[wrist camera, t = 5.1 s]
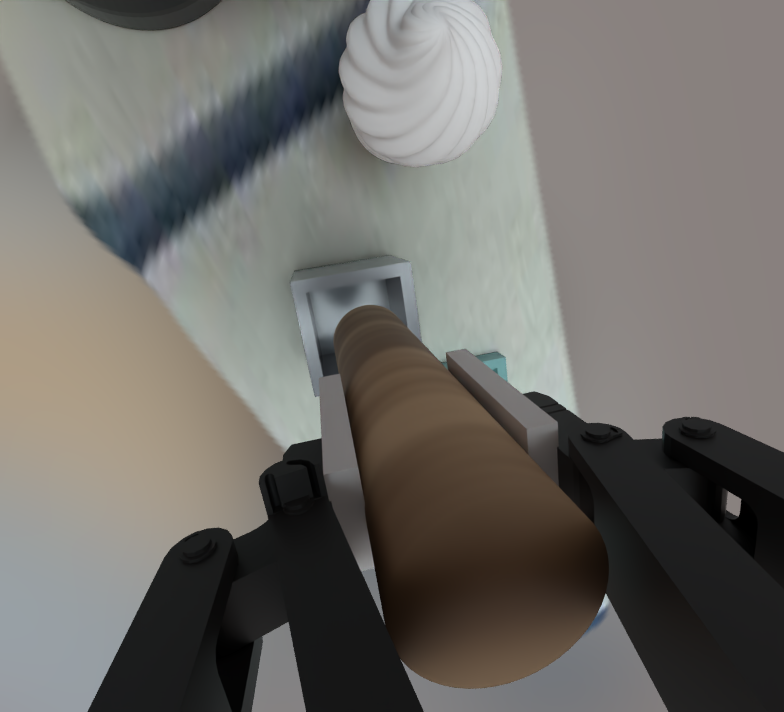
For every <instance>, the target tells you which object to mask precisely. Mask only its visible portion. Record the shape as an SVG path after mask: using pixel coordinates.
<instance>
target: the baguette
mask: <svg viewBox="0 0 784 712" xmlns="http://www.w3.org/2000/svg"><path fill="white" fill-rule="evenodd" d="M334 350H335V356H336V361H337V366H338V372H339V374H340V377H341V382H342V387H343V392H344V397H345V402H346V407H347V413H348V418H349V423H350V428H351V433H352V439H353V444H354V449H355V454H356V459H357V464H358V470H359V475H360V480H361V485H362V490H363V496H364V501H365V517H366V524H367V529H368V535H369V540H370V545H371V551H372V556H373V562H374V567H375V572H376V578H377V583H378V589H379V594H380V600H381V605H382V610H383V616H384V621H385V626H386V628H387V631H388V633H389V635H390V637H391V640H392V642H393V644H394V646H395V648H396V651H397V653H398V655H399V657H400V659H401V660H402V661H403V662H404V663H405V664H406V665H407V666H408V667H409V668H410V669H411V670H413V671H414V672H415V673H417V674H418V675H420V676H422V677H423V678H426V679H428V680H429V681H432V682H435V683H438V684H441V685H444V686H449V687H454V688H466V689H471V688H472V689H473V688H487V687H494V686H499V685H503V684H507V683H511V682H514V681H517V680H519V679H522V678H524V677H527V676H529V675H531V674H533V673H536V672H537V671H539V670H541V669H542V668H544V667H546V666H548V665H549V664H551V663H552V662H554V661H555V660H556V659H558V658H559V657H561V656H562V655H563V654H564V653H565V652H566V651H568V650H569V649H570V648H571V647H572V646H573V645H574V644H575V643H576V642H577V641H578V640H579V639H580V638H581V636H582V635H583V634H584V633H585V631H586V630H587V629H588V628H589V626H590V625H591V623H592V621H593V620H594V618H595V617H596V615H597V613H598V611H599V609H600V607H601V605H602V602H603V599H604V596H605V593H606V589H607V584H608V578H609V560H608V554H607V550H606V545H605V543H604V541H603V538H602V536H601V534H600V532H599V531H598V529H597V528H596V526H595V525H594V524H593V522H592V521H591V520H590V519H589V518H588V517H587V516H586V515H585V514H584V513H583V512H582V511H581V510H580V509H579V508H578V507H577V505H576V504H575V503H574V502H573V501H572V500H571V499H570V498H569V497H568V496H567V495H566V494H565V493H564V492H563V491H562V490H561V489H560V488H559V487H558V485H557V484H556V483H555V482H554V481H553V480H552V479H551V478H550V477H549V476H548V475H547V474H546V473H545V472H544V471H543V470H542V469H541V468H540V466H539V465H538V464H537V463H536V462H535V461H534V460H533V459H532V458H531V457H530V456H529V455H528V454H527V453H526V452H525V451H524V450H523V449H522V448H521V446H520V445H519V444H518V443H517V442H516V441H515V440H514V439H513V438H512V437H511V436H510V435H509V434H508V433H507V432H506V431H505V430H504V429H503V428H502V426H501V425H500V424H499V423H498V422H497V421H496V420H495V419H494V418H493V417H492V416H491V415H490V414H489V413H488V412H487V411H486V410H485V409H484V407H483V406H482V405H481V404H480V403H479V402H478V401H477V400H476V399H475V398H474V397H473V396H472V395H471V394H470V393H469V392H468V391H467V390H466V389H465V387H464V386H463V385H462V384H461V383H460V382H459V381H458V380H457V379H456V378H455V377H454V376H453V375H452V374H451V373H450V372H449V371H448V370H447V369H446V367H445V366H444V365H443V364H442V363H441V362H440V361H439V360H438V359H437V358H436V357H435V356H434V355H433V354H432V353H431V352H430V351H429V350H428V348H427V347H426V346H425V345H424V344H423V343H422V342H421V341H420V340H419V339H418V338H417V337H416V336H415V335H414V334H413V333H412V332H411V331H410V330H409V328H408V327H407V326H406V325H405V324H404V323H403V322H402V321H401V320H400V319H399V318H398V317H397V316H396V315H395V314H394V313H393V312H392V311H390V310H388V309H387V308H384V307H381V306H377V305H364V306H360V307H357V308H355V309H353V310H351V311H349V312H348V313H347V314H346V315H345V316H344V317H343V318H342V319H341V320H340V322H339V323H338V325H337V327H336V329H335V333H334Z"/></svg>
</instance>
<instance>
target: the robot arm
mask: <svg viewBox="0 0 784 712" xmlns="http://www.w3.org/2000/svg"><path fill="white" fill-rule="evenodd" d="M65 1H67V2H68V3H70V4H71V5H73V6H74V7H76V8H78V9H79V10H81V11H83V12H85V13H87V14H89V15H91V16H93V17H95V18H97V19H100V20H102V21H105V22H108V23H111V24H114V25H117V26H121V27H126V28H132V29H140V30H158V29H166V28H172V27H176V26H180V25H183V24H186V23H188V22H190V21H193V20H195V19H197V18H198V17H200V16H202V15H203V14H205V13H206V12H208V11H209V10H210V9H212V8H213V7H214V6H215V5H216V4H217V3H218V2H220V1H221V0H65ZM446 358H447V367H448V371H449V372H450V373H451V374H452V375H453V376H454V377H455V378H456V379H457V380H458V381H459V382H460V383H461V384H462V385H463V386H464V387H465V389H466V390H467V391H468V392H469V393H470V394H471V395H472V396H473V397H474V398H475V399H476V400H477V401H478V402H479V403H480V404H481V405H482V406H483V407H484V409H485V410H486V411H487V412H488V413H489V414H490V415H491V416H492V417H493V418H494V419H495V420H496V421H497V422H498V423H499V424H500V425H501V426H502V428H503V429H504V430H505V431H506V432H507V433H508V434H509V435H510V436H511V437H512V438H513V439H514V440H515V441H516V442H517V443H518V444H519V445H520V446H521V448H522V449H523V450H524V451H525V452H526V453H527V454H528V455H529V456H530V457H531V458H532V459H533V460H534V461H535V462H536V463H537V464H538V465H539V466H540V468H541V469H542V470H543V471H544V472H545V473H546V474H547V475H548V476H549V477H550V478H551V479H552V480H553V481H554V482H555V483H556V484H557V485H558V487H559V488H560V489H561V490H562V491H563V492H564V493H565V494H566V495H567V496H568V497H569V498H570V499H571V500H572V501H573V502H574V503H575V504H576V505H577V507H578V508H579V509H580V510H581V511H582V512H583V513H584V514H585V515H586V516H587V517H588V518H589V519H590V520H591V521H592V522H593V524H594V525H595V526H596V528H597V529H598V531H599V532H600V534H601V536H602V538H603V541H604V543H605V545H606V550H607V554H608V560H609V578H608V584H607V589H606V594H607V596H608V598H609V600H610V602H611V604H612V606H613V607H614V609H615V611H616V613H617V615H618V617H619V619H620V621H621V622H622V624H623V626H624V628H625V630H626V632H627V634H628V636H629V638H630V640H631V642H632V643H633V645H634V647H635V649H636V651H637V653H638V655H639V657H640V658H641V660H642V662H643V664H644V666H645V668H646V670H647V672H648V674H649V676H650V678H651V679H652V681H653V683H654V685H655V687H656V689H657V691H658V693H659V695H660V697H661V698H662V700H663V702H664V704H665V706H666V708H667V710H668V712H784V452H781V451H779V450H777V449H775V448H772V447H770V446H768V445H766V444H764V443H762V442H759V441H757V440H755V439H753V438H751V437H748V436H746V435H744V434H742V433H740V432H737V431H735V430H733V429H731V428H729V427H726V426H724V425H722V424H719V423H716V422H713V421H711V420H706V419H701V418H699V417H691V418H690V417H683V418H677V419H672V420H670V421H668V422H666V423H665V424H664V426H663V431H662V439H642V440H633V439H632V438H631V437H630V436H629V435H628V434H627V433H626V432H625V431H623V430H622V429H620V428H618V427H616V426H612V425H609V424H602V423H586V422H584V421H583V420H581V419H580V418H579V417H577V416H576V415H575V414H573V413H572V412H570V411H569V410H566V408H565V407H563V406H562V405H561V404H558V402H556V401H555V400H554V399H552V398H551V397H549V396H547V395H544V394H541V393H538V392H529V393H525V394H522V393H520V392H519V391H518V390H517V389H515V388H514V387H513V386H512V385H510V384H509V383H508V382H507V381H505V380H504V379H503V378H502V377H500V376H499V375H498V374H497V373H495V372H494V371H493V370H492V369H490V368H489V367H488V366H487V365H485V364H484V363H483V362H482V361H480V360H479V359H478V358H477V357H475V356H474V355H473V354H472V353H470V352H469V351H468V350H467V349H462V350H456V351H451V352H446ZM319 393H320V414H321V435H322V438H321V439H316V440H311V441H307V442H302V443H298V444H293V445H291V446H290V447H289V449H288V450H287V451H286V452H285V453H284V455H283V461H280V462H278V463H275V464H274V465H272V466H271V467H269V468H268V469H266V470H265V471H264V472H263V473H262V475H261V476H260V479H259V486H260V490H261V493H262V496H263V501H264V504H265V508H266V511H267V515H268V520H267V522H265V523H264V524H263V525H261V526H260V527H258V528H257V529H255V530H253V531H251V532H249V533H247V534H245V535H242V536H240V537H238V538H236V539H234V540H233V537H232V535H231V534H230V533H229V531H228V530H225V529H222V528H209V529H204V530H201V531H197V532H195V533H193V534H191V535H189V536H187V537H185V538H183V539H182V540H181V541H179V542H178V543H177V544H176V545H174V546H173V547H172V548H171V549H170V551H169V552H168V553H167V555H166V556H165V557H164V559H163V561H162V563H161V565H160V568H159V569H158V571H157V573H156V576H155V578H154V579H153V582H152V583H151V585H150V587H149V589H148V591H147V593H146V596H145V597H144V600H143V601H142V603H141V605H140V608H139V610H138V611H137V614H136V616H135V618H134V620H133V622H132V624H131V626H130V628H129V630H128V632H127V634H126V636H125V638H124V640H123V642H122V644H121V646H120V648H119V650H118V652H117V654H116V656H115V658H114V660H113V662H112V664H111V666H110V668H109V670H108V672H107V674H106V676H105V678H104V680H103V682H102V684H101V686H100V688H99V690H98V692H97V694H96V696H95V698H94V700H93V702H92V704H91V706H90V708H89V710H88V712H251V711H252V705H253V699H254V693H255V687H256V680H257V674H258V668H259V662H260V656H261V650H262V643H263V640H262V636H263V635H265V634H267V633H269V632H271V631H272V630H274V629H276V628H278V627H280V626H281V625H283V624H285V623H287V622H289V626H290V631H291V637H292V641H293V647H294V652H295V657H296V662H297V667H298V672H299V677H300V682H301V687H302V692H303V697H304V703H305V708H306V712H423V709H422V707H421V705H420V702H419V700H418V698H417V695H416V693H415V691H414V689H413V687H412V684H411V682H410V680H409V678H408V675H407V673H406V671H405V669H404V666H403V664H402V662H401V660H400V657H399V655H398V653H397V651H396V648H395V646H394V644H393V642H392V640H391V637H390V635H389V633H388V631H387V628H386V626H385V624H384V622H383V620H382V617H381V615H380V613H379V610H378V608H377V606H376V604H375V601H374V599H373V597H372V595H371V593H370V590H369V588H368V586H367V584H366V581H365V579H364V577H363V575H362V572H361V571H365V570H369V569H372V568H375V567H374V562H373V556H372V551H371V545H370V540H369V535H368V529H367V524H366V517H365V501H364V496H363V490H362V485H361V480H360V475H359V470H358V464H357V459H356V454H355V449H354V444H353V439H352V433H351V428H350V423H349V418H348V413H347V407H346V402H345V397H344V392H343V387H342V382H341V377H340V374H335V375H330V376H325V377H320V378H319ZM728 491H729V492H730V493H732V494H734V495H736V496H737V497H739V498H741V509H740V515H739V517H738V516H735V515H733V514H732V513H730V512H728V511H727V510H726V504H727V493H728Z"/></svg>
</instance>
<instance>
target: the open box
mask: <svg viewBox="0 0 784 712" xmlns="http://www.w3.org/2000/svg"><path fill="white" fill-rule="evenodd" d="M290 285H291V290H292V294H293V299H294V304H295V308H296V313H297V317H298V322H299V327H300V331H301V336H302V340H303V345H304V350H305V354H306V359H307V363H308V368H309V373H310V377H311V382H312V386H313V391H314V395H315V397H317V396H320V393H319V378H320V377H325V376H330V375H335V374H339V372H338V366H337V361H336V356H335V350H334V333H335V329H336V327H337V325H338V323H339V322H340V320H341V319H342V318H343V317H344V316H345V315H346V314H347V313H348V312H349V311H351V310H353V309H355V308H357V307H360V306H364V305H377V306H381V307H384V308H387V309H388V310H390V311H392V312H393V313H394V314H395V315H396V316H397V317H398V318H399V319H400V320H401V321H402V322H403V323H404V324H405V325H406V326H407V327H408V328H409V330H410V331H411V332H412V333H413V334H414V335H415V336H416V337H417V338H418V339H419V340H420V341H421V342H422V339H421V332H420V325H419V317H418V310H417V303H416V295H415V288H414V281H413V274H412V266H411V261H408V260H405V259H401V258H398V257H395V256H392V255H387V256H381V257H375V258H369V259H363V260H357V261H351V262H345V263H339V264H333V265H327V266H321V267H315V268H310V269H304V270H298V271H294V274H293V276H292V278H291V281H290Z"/></svg>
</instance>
